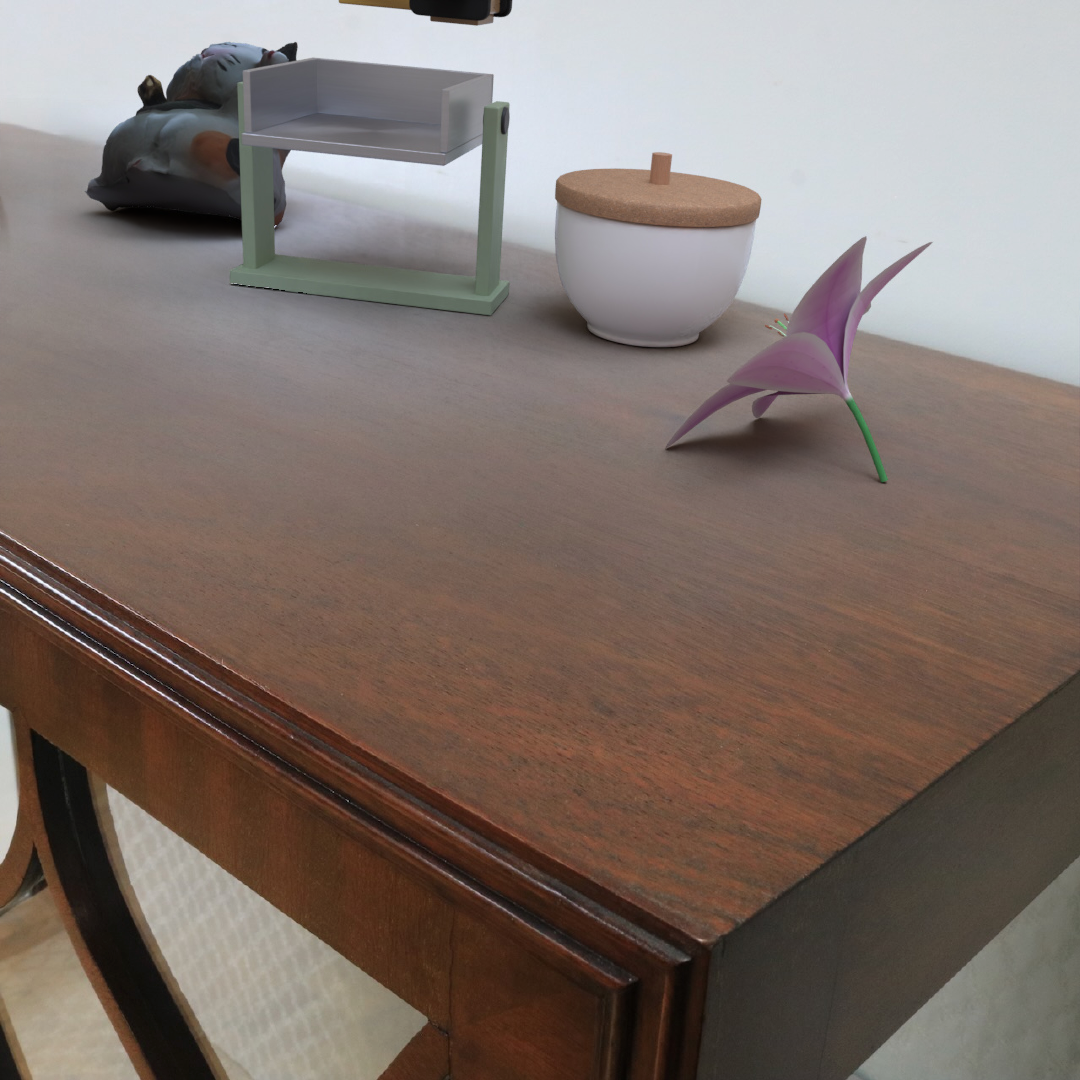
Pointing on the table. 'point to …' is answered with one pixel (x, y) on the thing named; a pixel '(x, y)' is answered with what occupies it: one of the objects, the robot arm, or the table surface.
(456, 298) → the bracket
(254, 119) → the shallow metal tray
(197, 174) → the lucky cat figurine
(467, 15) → the robot arm
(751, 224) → the trinket box
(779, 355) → the lily
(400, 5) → the tan blocky wooden piece
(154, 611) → the table surface
